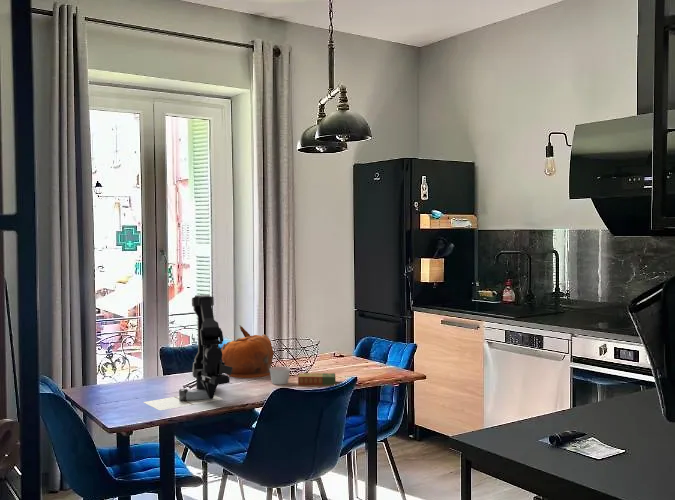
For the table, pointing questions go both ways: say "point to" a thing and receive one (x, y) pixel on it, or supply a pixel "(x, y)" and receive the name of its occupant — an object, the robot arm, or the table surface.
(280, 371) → the candle
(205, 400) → the board
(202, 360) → the robot arm
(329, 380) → the carton
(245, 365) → the pumpkin
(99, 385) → the table surface
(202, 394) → the bar
